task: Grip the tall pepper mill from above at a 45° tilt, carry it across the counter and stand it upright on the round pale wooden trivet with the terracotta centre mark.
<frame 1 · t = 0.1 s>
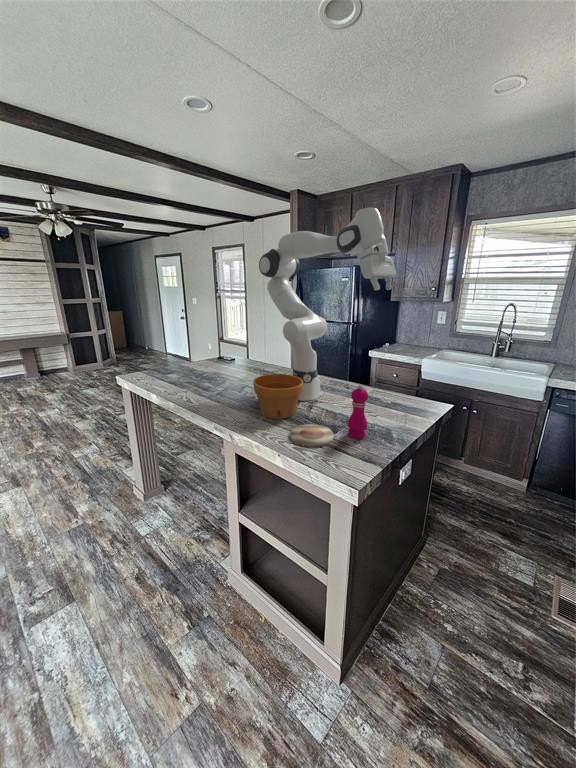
hand: (383, 289, 120), 52 cm above the countertop, tool tilted 20°, fingers open, 8 cm apart
trivet: (311, 436, 119), on the countertop
flower pot: (278, 413, 141), on the countertop
pepper mill: (356, 435, 120), on the countertop
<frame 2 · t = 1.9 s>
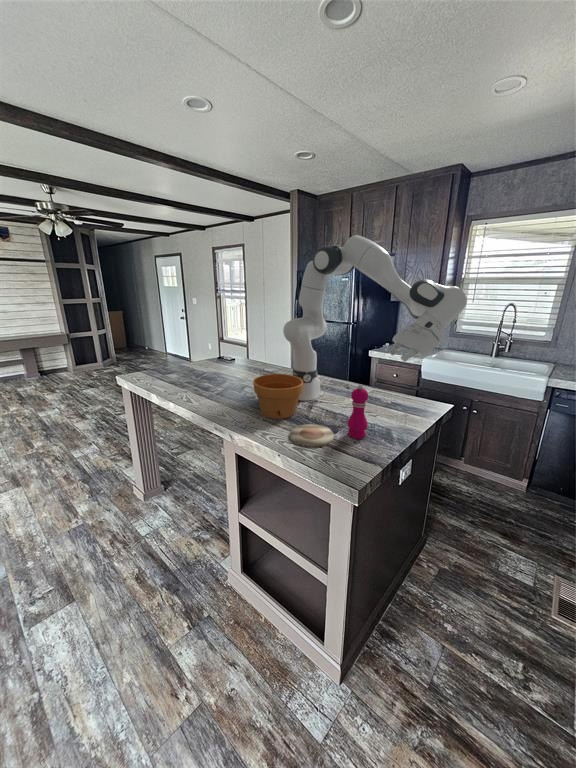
hand: (396, 356, 113), 30 cm above the countertop, tool tilted 45°, fingers open, 8 cm apart
nothing on the countertop moved.
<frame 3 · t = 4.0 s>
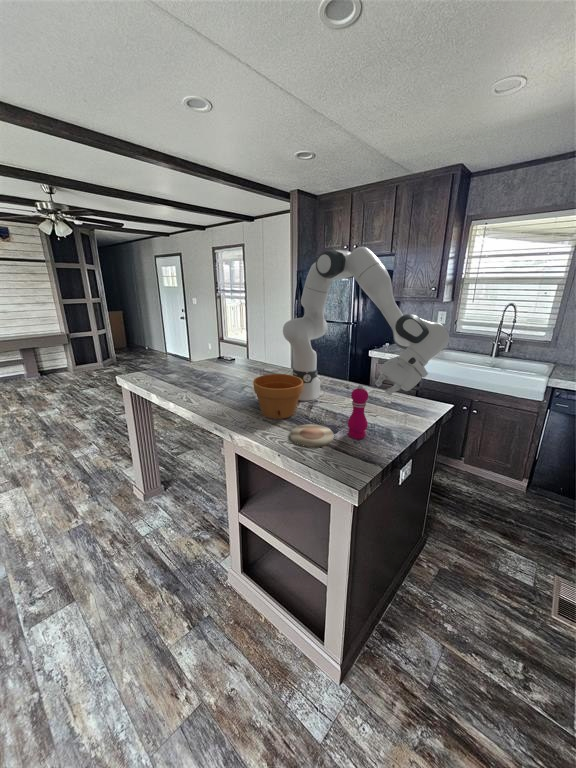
hand: (381, 389, 116), 18 cm above the countertop, tool tilted 45°, fingers open, 8 cm apart
nothing on the countertop moved.
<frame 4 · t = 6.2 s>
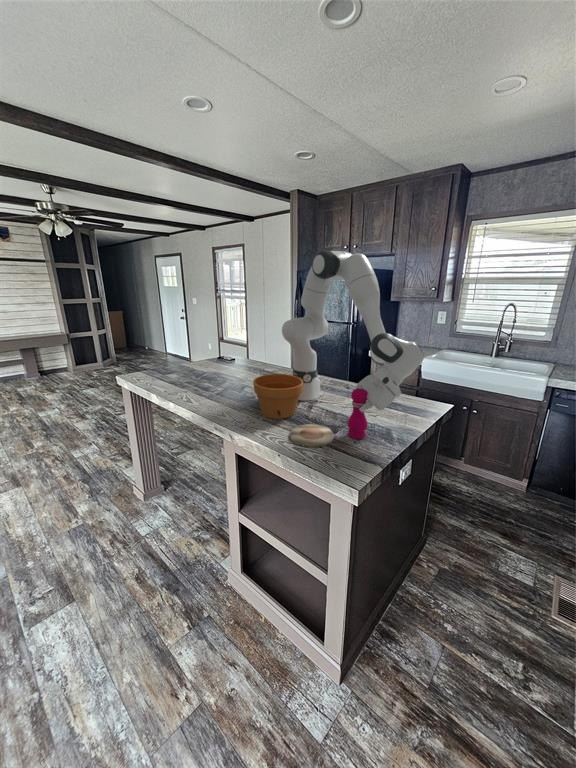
hand: (357, 407, 117), 11 cm above the countertop, tool tilted 45°, fingers closed on pepper mill, 5 cm apart
pepper mill: (356, 435, 120), on the countertop, touching gripper
everything else where it was.
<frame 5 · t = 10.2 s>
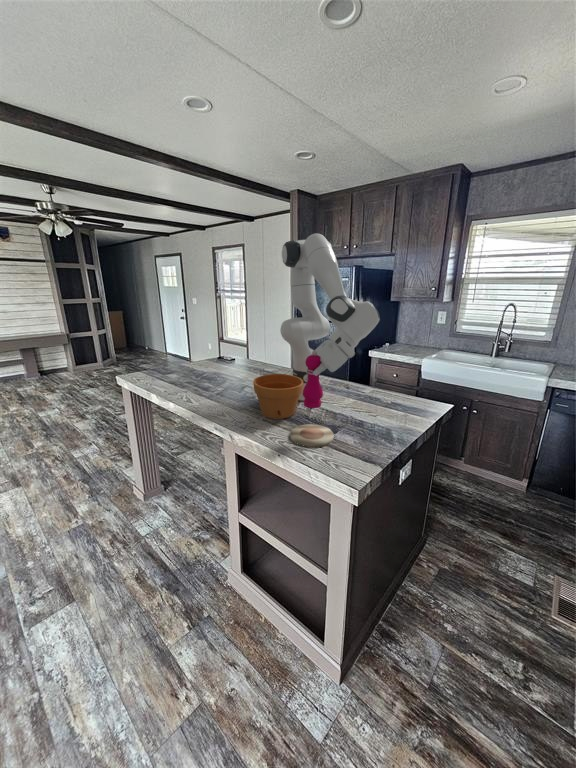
hand: (312, 371, 111), 25 cm above the countertop, tool tilted 45°, fingers closed on pepper mill, 5 cm apart
pepper mill: (312, 405, 115), point 12 cm above the countertop, touching gripper
everything else where it was.
when the fingers open (14 cm above the countertop, at t = 13.8 s): pepper mill stays where it is, resting on trivet.
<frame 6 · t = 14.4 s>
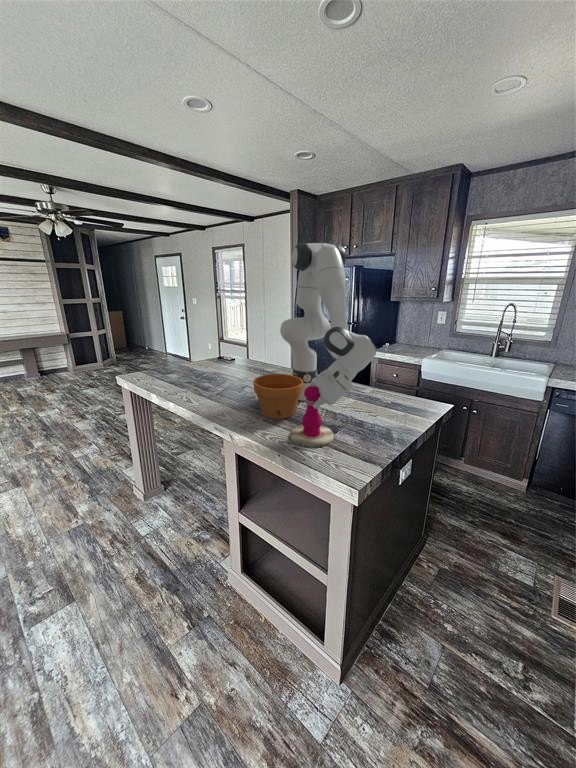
hand: (310, 401, 115), 14 cm above the countertop, tool tilted 45°, fingers open, 8 cm apart
pepper mill: (311, 433, 119), point 1 cm above the countertop, touching trivet
everything else where it was.
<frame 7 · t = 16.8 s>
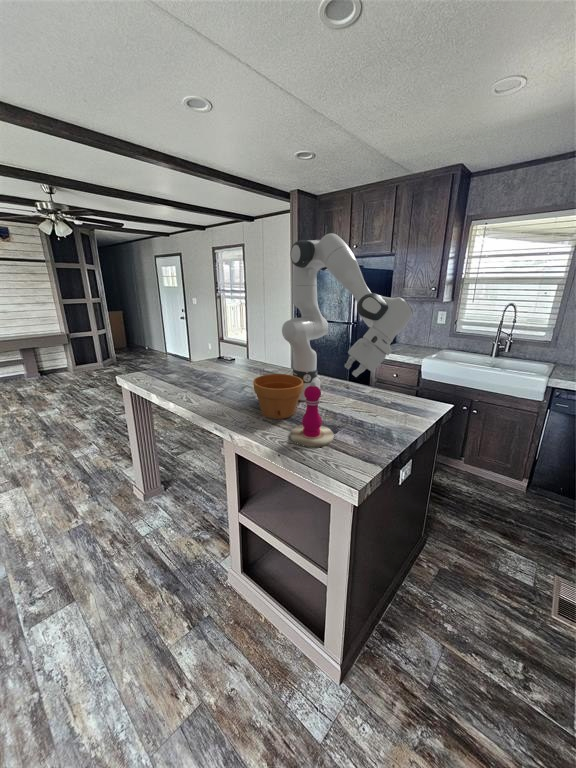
hand: (349, 371, 114), 24 cm above the countertop, tool tilted 40°, fingers open, 8 cm apart
nothing on the countertop moved.
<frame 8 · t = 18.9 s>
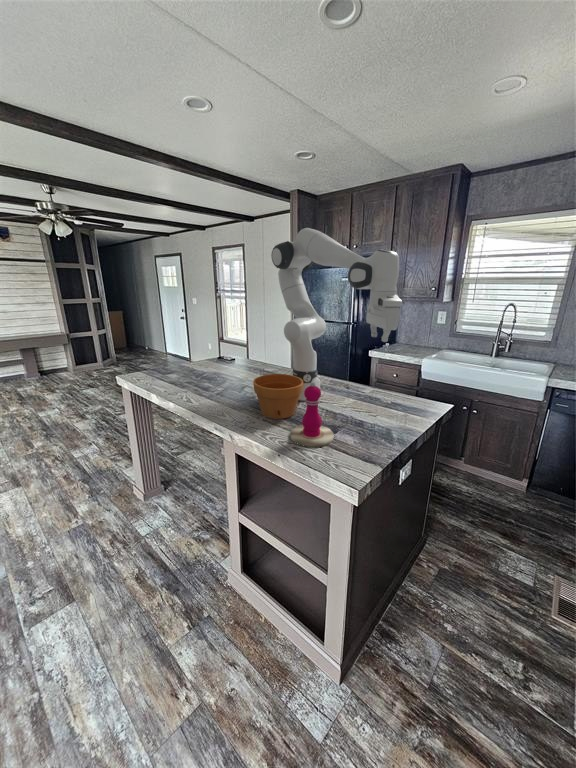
hand: (379, 339, 116), 35 cm above the countertop, tool pointing down, fingers open, 8 cm apart
nothing on the countertop moved.
at the end: pepper mill inside the target area on the trivet (0.1 cm from its centre), point 1.1 cm above the trivet's base; pepper mill tilted 0°; the gripper is holding nothing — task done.
